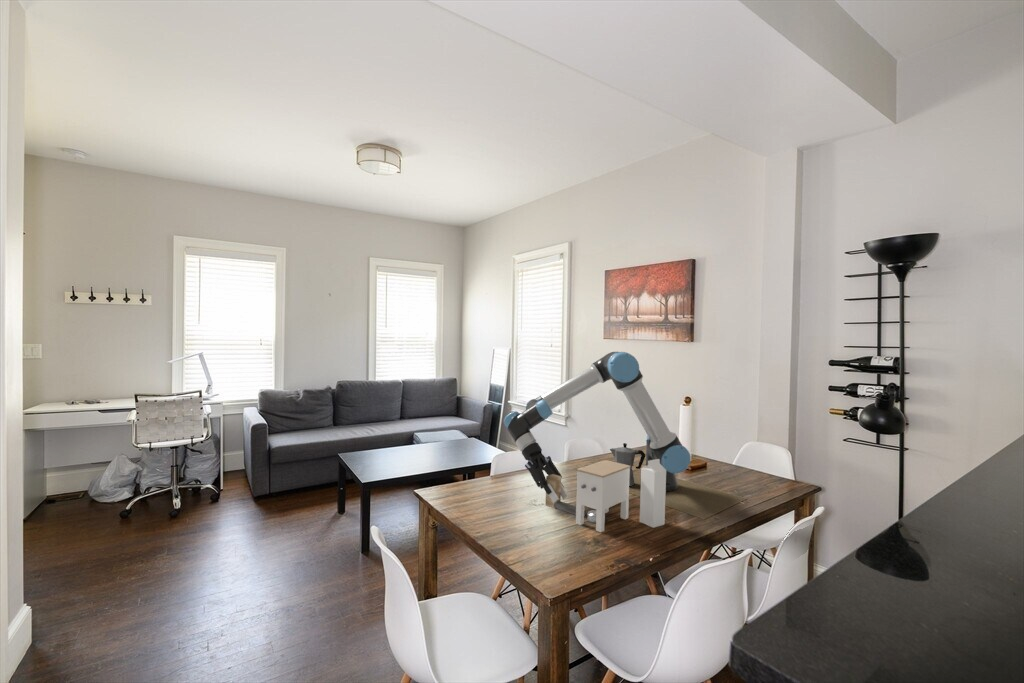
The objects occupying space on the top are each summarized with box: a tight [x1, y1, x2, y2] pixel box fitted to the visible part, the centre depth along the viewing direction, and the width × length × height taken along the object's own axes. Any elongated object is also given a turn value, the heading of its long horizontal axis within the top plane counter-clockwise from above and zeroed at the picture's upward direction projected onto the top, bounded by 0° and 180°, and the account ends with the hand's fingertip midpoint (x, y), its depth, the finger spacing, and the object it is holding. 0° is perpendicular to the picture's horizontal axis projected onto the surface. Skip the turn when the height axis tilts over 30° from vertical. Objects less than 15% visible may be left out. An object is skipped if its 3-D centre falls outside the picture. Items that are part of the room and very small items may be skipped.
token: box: [586, 509, 596, 524], centre depth 159 cm, size 6×6×2 cm
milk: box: [639, 459, 667, 529], centre depth 157 cm, size 6×6×22 cm
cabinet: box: [575, 459, 631, 533], centre depth 158 cm, size 19×10×19 cm, turn 137°
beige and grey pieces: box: [545, 474, 587, 517], centre depth 167 cm, size 4×16×11 cm, turn 47°
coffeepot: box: [609, 443, 646, 487], centre depth 200 cm, size 15×9×18 cm, turn 70°
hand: (561, 499), depth 169 cm, fingers open, 5 cm apart
